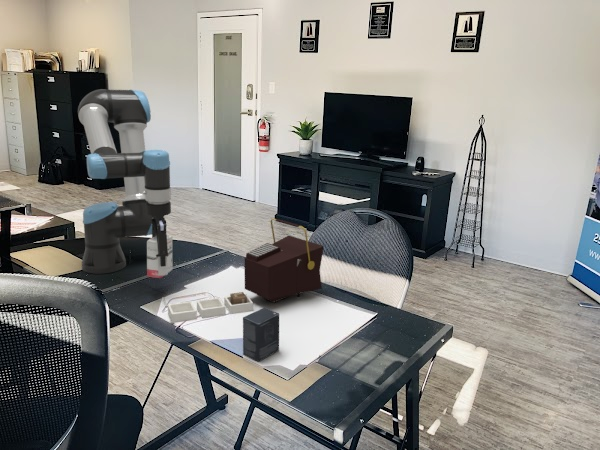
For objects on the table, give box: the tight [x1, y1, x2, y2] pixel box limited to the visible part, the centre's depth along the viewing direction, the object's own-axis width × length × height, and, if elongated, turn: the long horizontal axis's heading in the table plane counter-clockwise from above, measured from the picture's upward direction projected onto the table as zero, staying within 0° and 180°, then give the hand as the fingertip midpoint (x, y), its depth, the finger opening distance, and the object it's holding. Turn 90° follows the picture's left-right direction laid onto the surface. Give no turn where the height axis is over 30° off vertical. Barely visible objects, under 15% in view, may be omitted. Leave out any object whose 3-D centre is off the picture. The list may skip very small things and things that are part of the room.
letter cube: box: [229, 291, 247, 305], centre depth 152 cm, size 4×4×4 cm
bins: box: [167, 293, 254, 325], centre depth 149 cm, size 7×24×3 cm, turn 113°
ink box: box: [146, 234, 173, 279], centre depth 158 cm, size 9×5×12 cm, turn 168°
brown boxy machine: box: [244, 218, 325, 304], centre depth 159 cm, size 16×23×25 cm
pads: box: [161, 297, 168, 308], centre depth 160 cm, size 7×24×1 cm, turn 113°
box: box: [242, 307, 280, 363], centre depth 126 cm, size 8×6×11 cm
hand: (160, 269), depth 160 cm, fingers closed on ink box, 9 cm apart
